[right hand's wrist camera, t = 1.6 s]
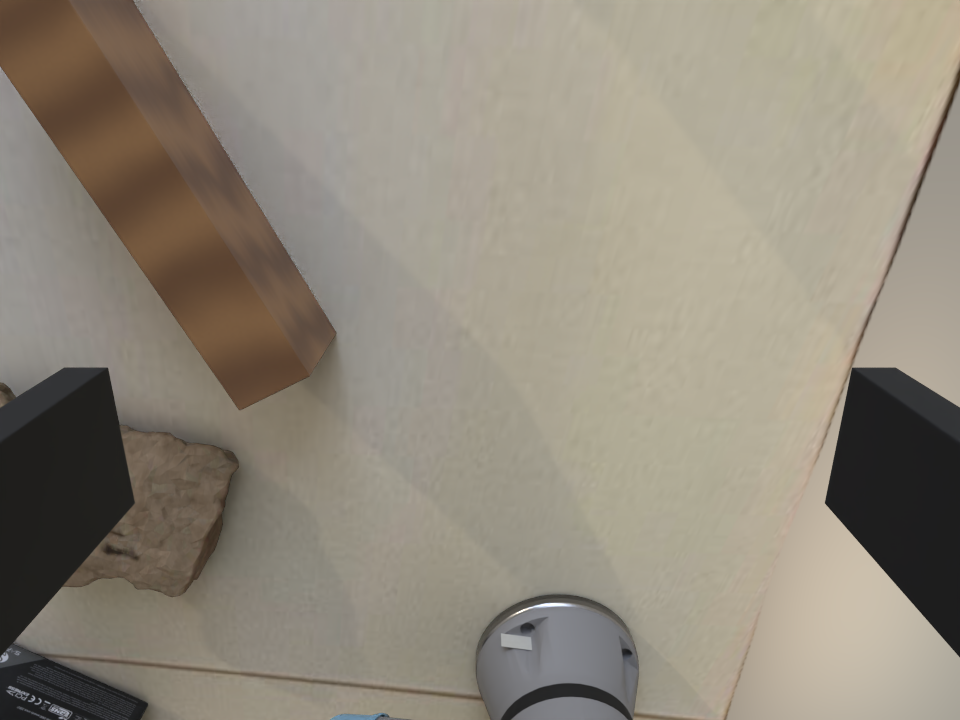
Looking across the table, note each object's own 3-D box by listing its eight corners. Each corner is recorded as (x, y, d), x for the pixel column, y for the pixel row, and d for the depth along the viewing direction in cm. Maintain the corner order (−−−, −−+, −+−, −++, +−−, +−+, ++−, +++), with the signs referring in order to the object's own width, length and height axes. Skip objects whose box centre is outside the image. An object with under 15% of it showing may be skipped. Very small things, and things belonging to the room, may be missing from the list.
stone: (-57, 537, 57) (-98, 572, 51) (-15, 369, 55) (-53, 386, 49) (204, 584, 63) (193, 620, 57) (250, 434, 61) (243, 456, 55)
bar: (336, 333, 54) (310, 376, 46) (276, 363, 55) (239, 410, 47) (119, -22, 45) (35, -51, 37) (51, 20, 46) (-45, 2, 38)
